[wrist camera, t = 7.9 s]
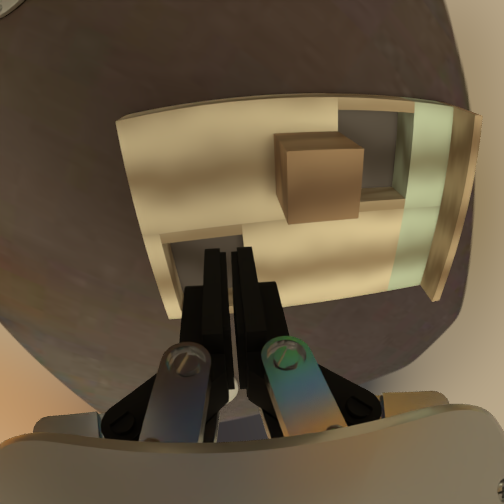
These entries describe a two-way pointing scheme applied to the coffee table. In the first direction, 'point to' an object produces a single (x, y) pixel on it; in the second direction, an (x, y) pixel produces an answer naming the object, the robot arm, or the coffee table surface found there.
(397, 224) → the board
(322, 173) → the walnut block
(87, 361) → the coffee table surface
